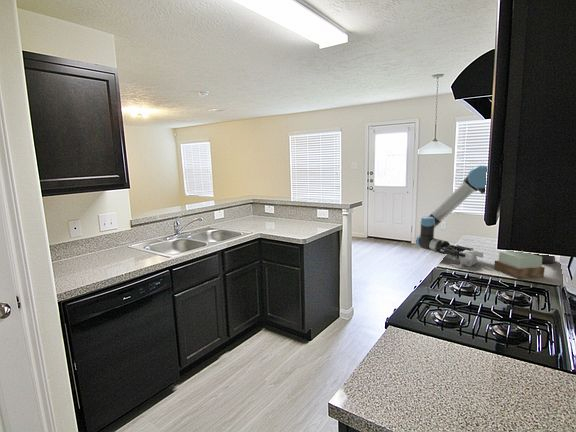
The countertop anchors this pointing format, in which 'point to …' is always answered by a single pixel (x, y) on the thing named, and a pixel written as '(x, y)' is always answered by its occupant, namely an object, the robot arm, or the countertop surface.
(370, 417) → the countertop surface
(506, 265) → the tower base
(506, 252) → the tower top
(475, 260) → the gray faceted rock
